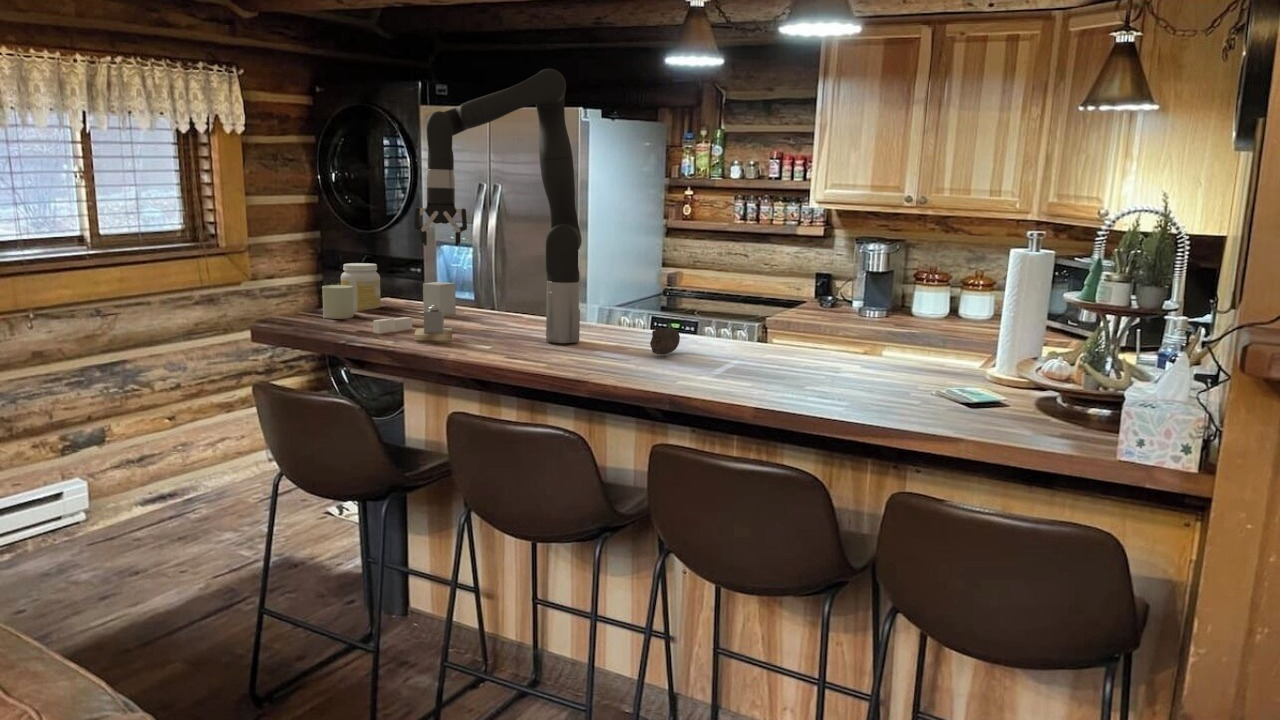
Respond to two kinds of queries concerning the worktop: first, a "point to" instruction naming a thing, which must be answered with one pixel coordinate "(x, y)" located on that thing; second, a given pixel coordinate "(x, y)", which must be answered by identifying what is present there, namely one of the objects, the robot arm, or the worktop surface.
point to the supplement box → (440, 296)
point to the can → (338, 301)
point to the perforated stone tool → (664, 340)
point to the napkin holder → (391, 325)
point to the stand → (434, 336)
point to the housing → (433, 320)
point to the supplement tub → (363, 285)
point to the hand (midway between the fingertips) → (441, 245)
